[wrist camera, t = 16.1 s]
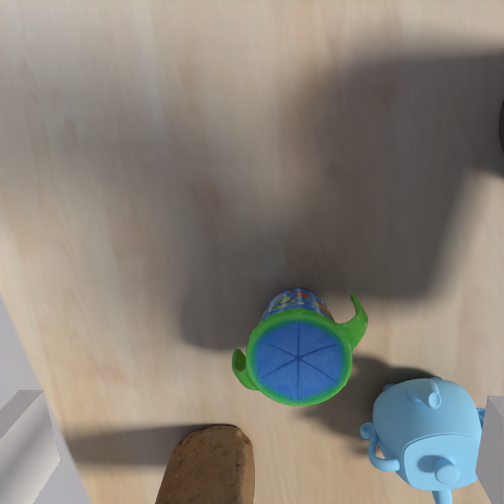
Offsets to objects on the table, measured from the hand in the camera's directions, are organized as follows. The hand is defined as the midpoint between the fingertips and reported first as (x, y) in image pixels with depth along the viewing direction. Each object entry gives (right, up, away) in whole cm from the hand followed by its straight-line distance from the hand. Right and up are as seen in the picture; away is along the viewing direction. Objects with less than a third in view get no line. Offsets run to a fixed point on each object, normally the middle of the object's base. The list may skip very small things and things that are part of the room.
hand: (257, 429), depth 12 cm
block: (-5, -21, +44) cm, 50 cm away
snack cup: (+5, -2, +37) cm, 38 cm away
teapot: (+21, -13, +40) cm, 47 cm away
